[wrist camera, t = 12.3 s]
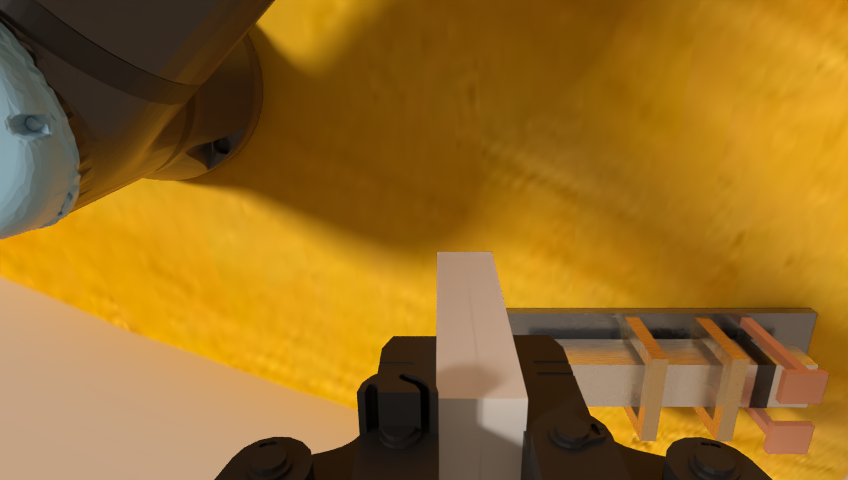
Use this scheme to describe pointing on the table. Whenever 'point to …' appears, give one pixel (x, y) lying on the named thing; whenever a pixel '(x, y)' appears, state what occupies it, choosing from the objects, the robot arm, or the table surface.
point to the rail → (672, 324)
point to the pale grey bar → (673, 372)
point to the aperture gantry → (787, 395)
